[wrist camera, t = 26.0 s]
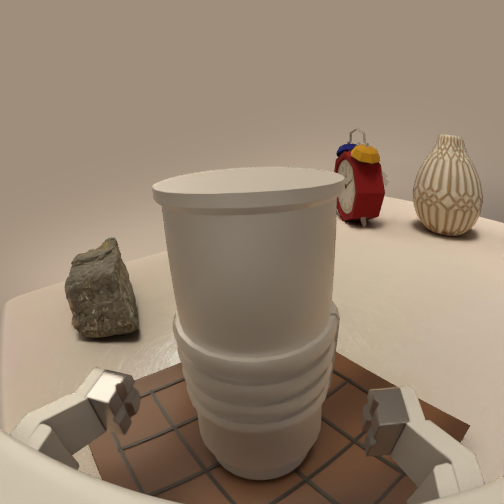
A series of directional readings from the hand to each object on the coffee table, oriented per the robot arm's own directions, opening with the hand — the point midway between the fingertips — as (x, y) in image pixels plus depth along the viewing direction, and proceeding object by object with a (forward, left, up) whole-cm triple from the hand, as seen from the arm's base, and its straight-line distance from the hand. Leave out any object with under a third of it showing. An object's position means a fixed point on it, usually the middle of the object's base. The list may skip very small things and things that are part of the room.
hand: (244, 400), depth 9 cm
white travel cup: (+3, -3, -9) cm, 9 cm away
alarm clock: (+31, -52, -10) cm, 61 cm away
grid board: (+3, -3, -10) cm, 11 cm away
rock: (+28, +1, -10) cm, 30 cm away
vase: (+14, -61, -10) cm, 63 cm away
